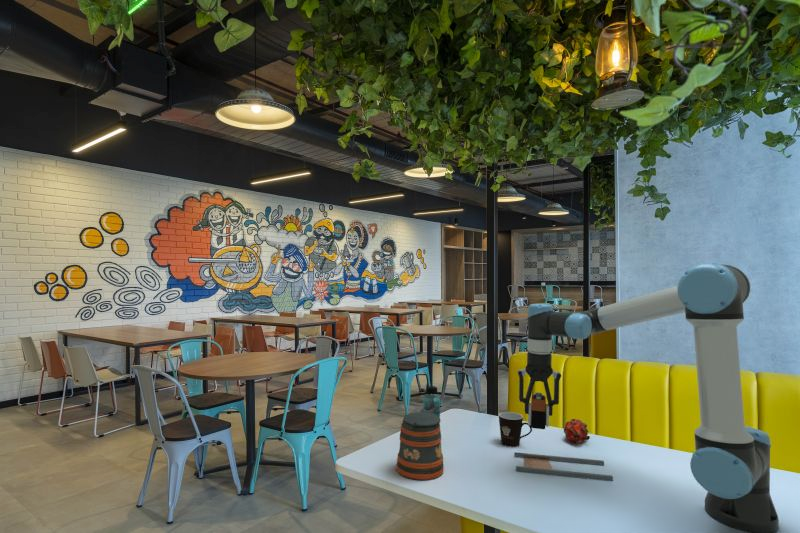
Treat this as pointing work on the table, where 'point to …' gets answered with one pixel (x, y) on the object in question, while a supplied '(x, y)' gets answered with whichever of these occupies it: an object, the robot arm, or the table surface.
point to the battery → (538, 411)
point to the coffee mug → (511, 428)
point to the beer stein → (421, 445)
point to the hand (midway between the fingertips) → (538, 424)
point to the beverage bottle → (436, 400)
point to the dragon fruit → (576, 431)
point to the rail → (543, 466)
